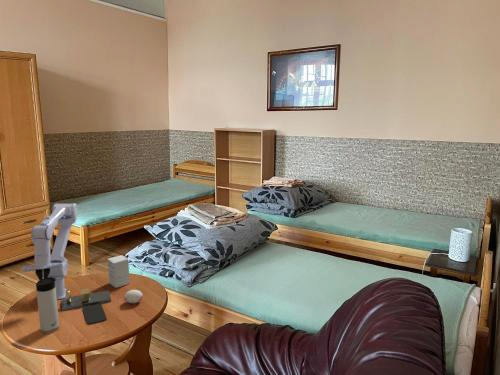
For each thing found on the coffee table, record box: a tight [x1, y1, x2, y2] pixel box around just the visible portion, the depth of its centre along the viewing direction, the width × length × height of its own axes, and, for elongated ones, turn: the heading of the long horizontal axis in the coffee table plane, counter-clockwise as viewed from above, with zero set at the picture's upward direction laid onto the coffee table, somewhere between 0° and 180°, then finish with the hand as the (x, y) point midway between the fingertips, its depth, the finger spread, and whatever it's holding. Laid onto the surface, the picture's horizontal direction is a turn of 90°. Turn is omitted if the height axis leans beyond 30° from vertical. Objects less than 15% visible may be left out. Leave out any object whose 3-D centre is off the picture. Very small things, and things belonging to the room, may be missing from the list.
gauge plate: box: [61, 289, 112, 311], centre depth 164 cm, size 9×19×6 cm, turn 115°
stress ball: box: [123, 289, 143, 307], centre depth 165 cm, size 8×8×7 cm
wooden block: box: [80, 288, 90, 302], centre depth 164 cm, size 5×3×3 cm, turn 25°
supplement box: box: [107, 254, 131, 289], centre depth 181 cm, size 7×7×13 cm
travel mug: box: [35, 277, 60, 334], centre depth 142 cm, size 6×7×20 cm
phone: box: [82, 303, 108, 326], centre depth 155 cm, size 7×1×15 cm
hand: (43, 287), depth 157 cm, fingers closed
